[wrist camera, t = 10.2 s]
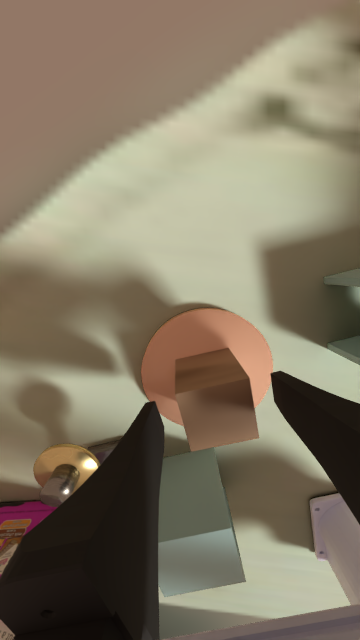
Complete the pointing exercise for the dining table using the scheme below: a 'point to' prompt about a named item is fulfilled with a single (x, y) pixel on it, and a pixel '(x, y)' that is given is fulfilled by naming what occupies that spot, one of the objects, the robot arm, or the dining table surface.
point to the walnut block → (214, 400)
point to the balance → (67, 469)
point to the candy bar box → (17, 534)
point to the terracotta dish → (201, 337)
